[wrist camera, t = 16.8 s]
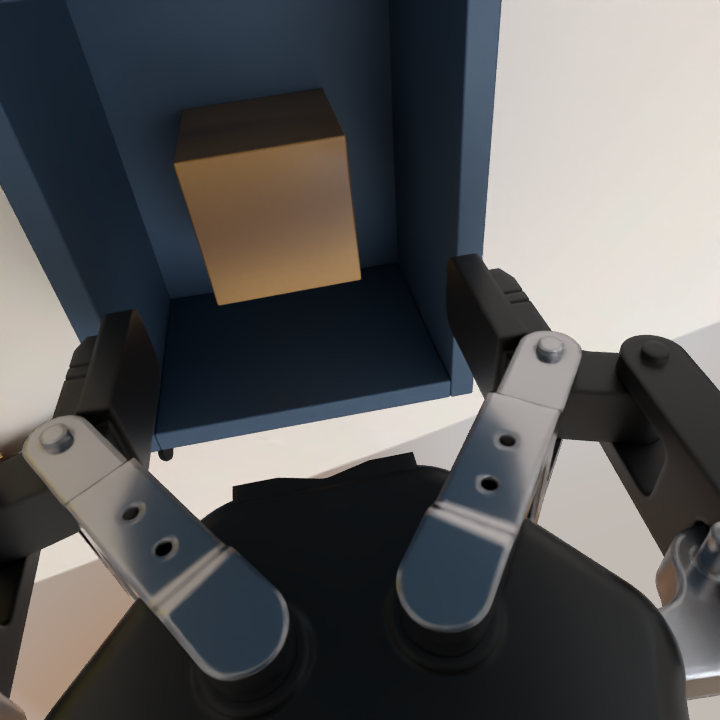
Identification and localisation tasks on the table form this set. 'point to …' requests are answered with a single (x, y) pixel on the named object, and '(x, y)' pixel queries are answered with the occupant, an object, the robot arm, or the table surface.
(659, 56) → the table surface
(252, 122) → the block
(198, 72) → the storage box
